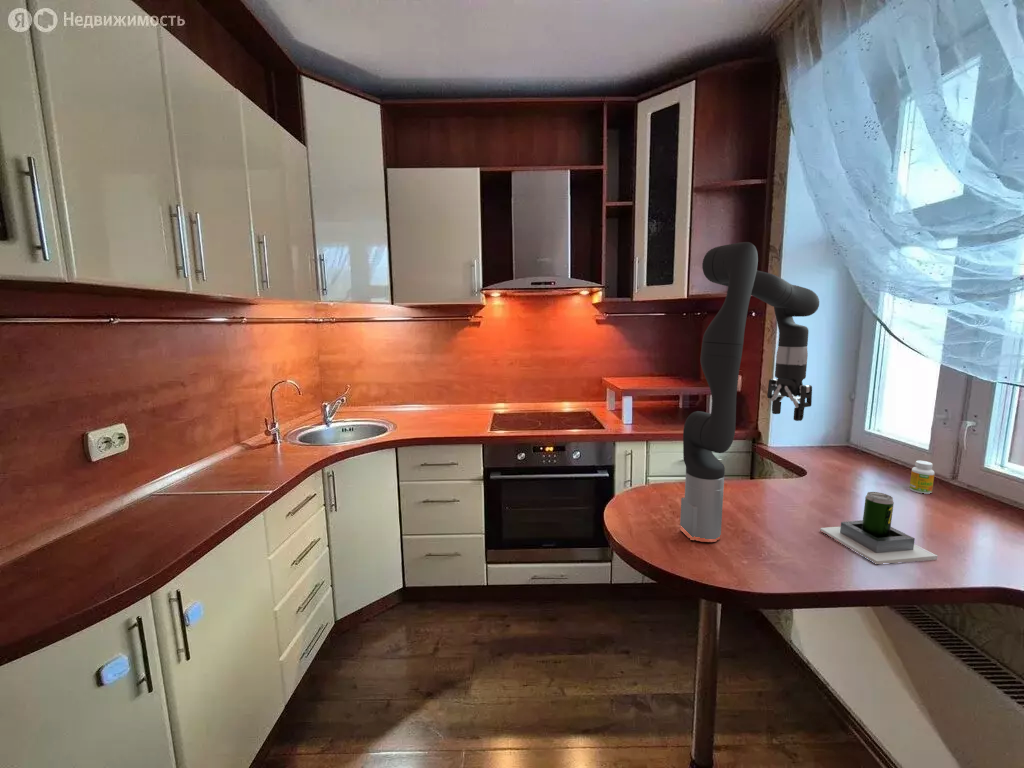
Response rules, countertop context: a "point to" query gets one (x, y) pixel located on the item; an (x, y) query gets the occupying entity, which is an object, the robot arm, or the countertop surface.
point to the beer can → (877, 514)
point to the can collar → (877, 545)
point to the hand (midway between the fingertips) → (786, 417)
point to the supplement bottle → (922, 477)
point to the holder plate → (881, 558)
